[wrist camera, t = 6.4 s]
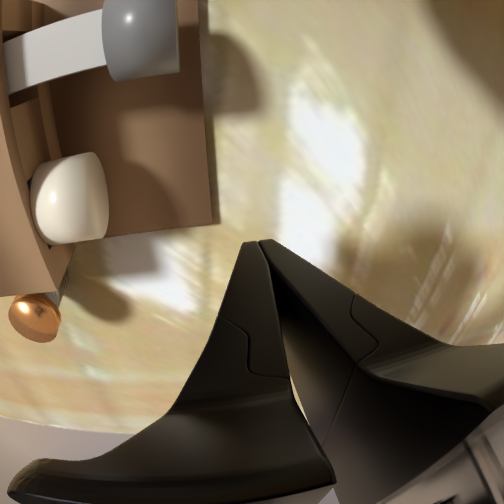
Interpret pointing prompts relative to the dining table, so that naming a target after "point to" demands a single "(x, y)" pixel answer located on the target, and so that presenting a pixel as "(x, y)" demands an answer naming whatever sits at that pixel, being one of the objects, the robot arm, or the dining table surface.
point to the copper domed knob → (38, 313)
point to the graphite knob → (98, 44)
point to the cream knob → (70, 199)
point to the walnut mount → (100, 144)
